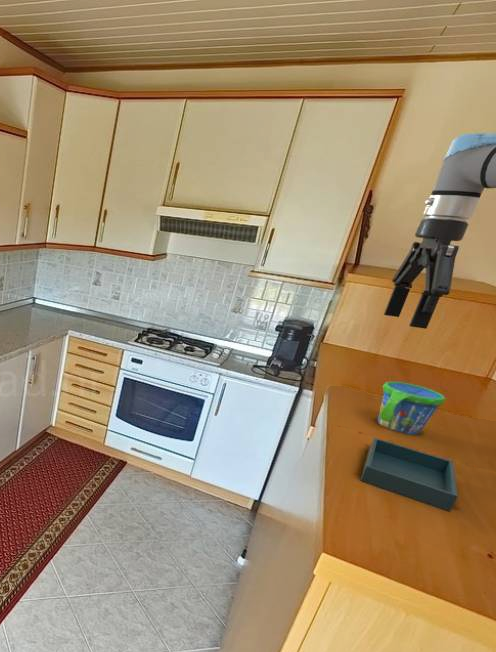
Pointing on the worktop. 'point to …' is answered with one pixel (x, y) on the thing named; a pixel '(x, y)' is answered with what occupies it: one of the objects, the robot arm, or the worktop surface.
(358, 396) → the worktop surface
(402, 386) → the snack cup
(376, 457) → the rectangular tray
